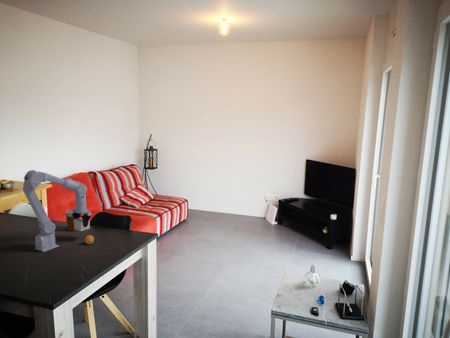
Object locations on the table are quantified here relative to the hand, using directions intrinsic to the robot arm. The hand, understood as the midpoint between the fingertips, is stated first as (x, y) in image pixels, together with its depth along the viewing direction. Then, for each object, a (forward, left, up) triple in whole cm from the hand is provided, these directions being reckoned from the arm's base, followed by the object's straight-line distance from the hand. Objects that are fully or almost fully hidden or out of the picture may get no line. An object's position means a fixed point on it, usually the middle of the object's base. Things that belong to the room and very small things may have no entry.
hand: (81, 225), depth 205 cm
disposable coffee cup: (+8, +18, -9) cm, 22 cm away
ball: (-2, -9, -6) cm, 11 cm away
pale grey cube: (0, 0, -2) cm, 2 cm away
